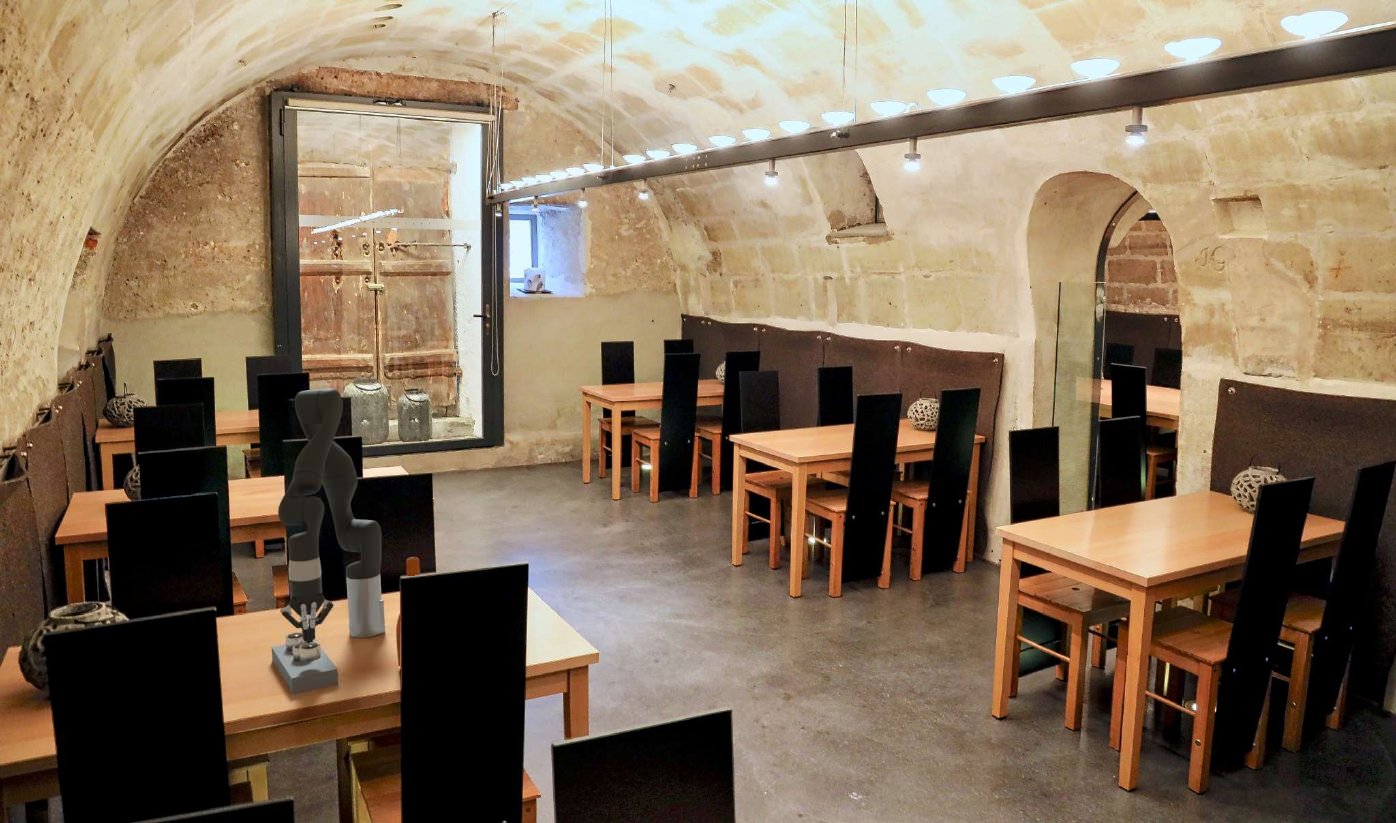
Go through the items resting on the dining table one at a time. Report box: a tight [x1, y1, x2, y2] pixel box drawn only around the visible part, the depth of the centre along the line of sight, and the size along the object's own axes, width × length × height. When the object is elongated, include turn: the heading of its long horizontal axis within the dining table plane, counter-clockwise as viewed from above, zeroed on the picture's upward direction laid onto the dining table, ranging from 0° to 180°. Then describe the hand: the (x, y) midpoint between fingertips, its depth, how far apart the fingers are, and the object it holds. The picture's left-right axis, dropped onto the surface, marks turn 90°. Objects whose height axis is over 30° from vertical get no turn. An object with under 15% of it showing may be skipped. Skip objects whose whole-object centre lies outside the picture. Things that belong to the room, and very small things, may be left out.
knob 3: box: [299, 642, 322, 662], centre depth 259 cm, size 5×5×3 cm
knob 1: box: [285, 632, 306, 650], centre depth 274 cm, size 5×5×3 cm
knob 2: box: [293, 642, 307, 661], centre depth 267 cm, size 5×5×3 cm
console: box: [271, 639, 339, 695], centre depth 267 cm, size 11×25×4 cm, turn 33°
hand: (309, 641), depth 259 cm, fingers closed
